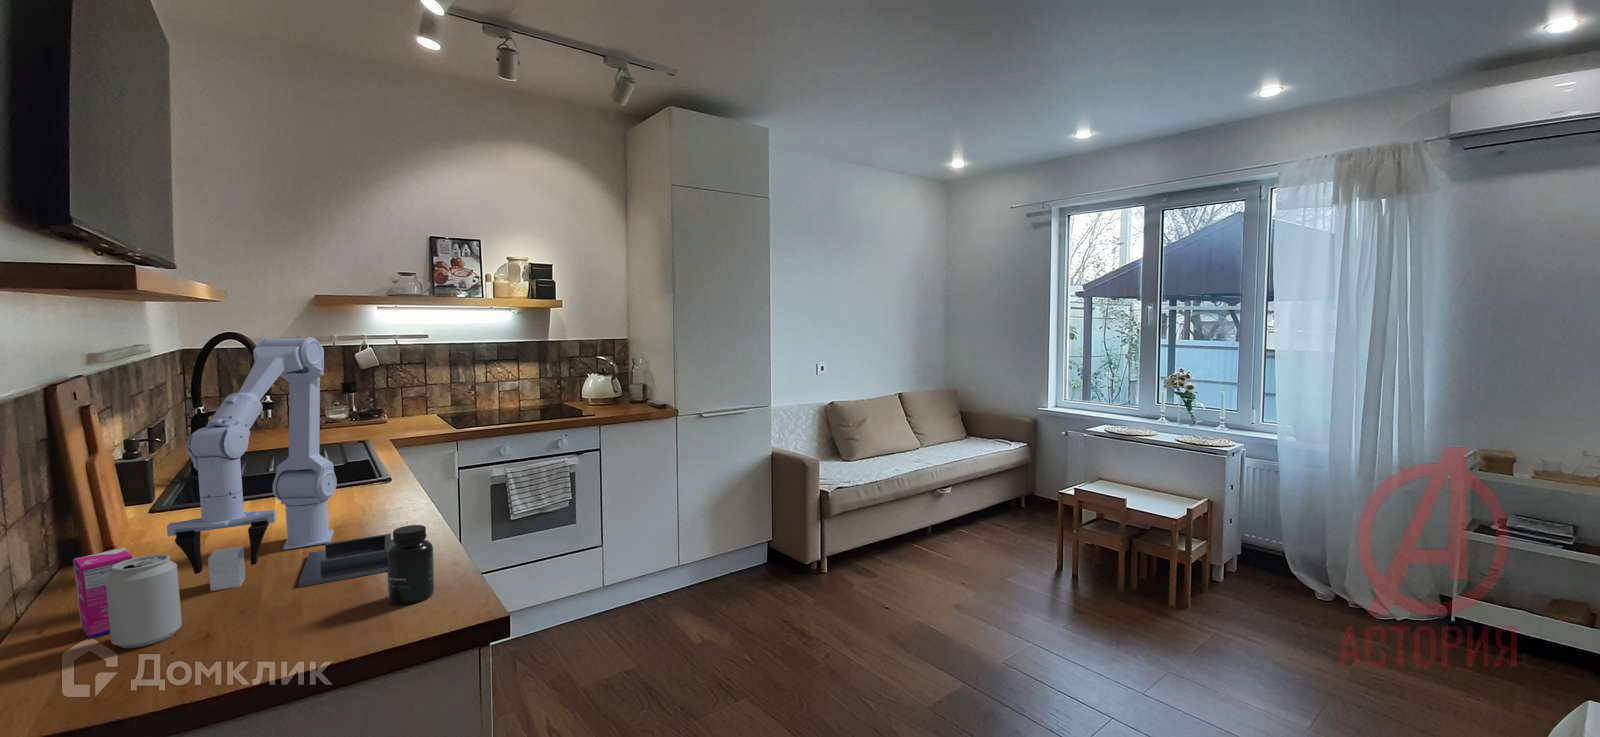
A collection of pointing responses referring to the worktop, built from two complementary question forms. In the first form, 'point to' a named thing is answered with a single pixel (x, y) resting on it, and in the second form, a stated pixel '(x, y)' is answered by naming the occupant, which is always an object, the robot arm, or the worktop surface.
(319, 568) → the cradle
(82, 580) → the supplement box
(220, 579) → the block
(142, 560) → the can
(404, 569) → the supplement bottle
